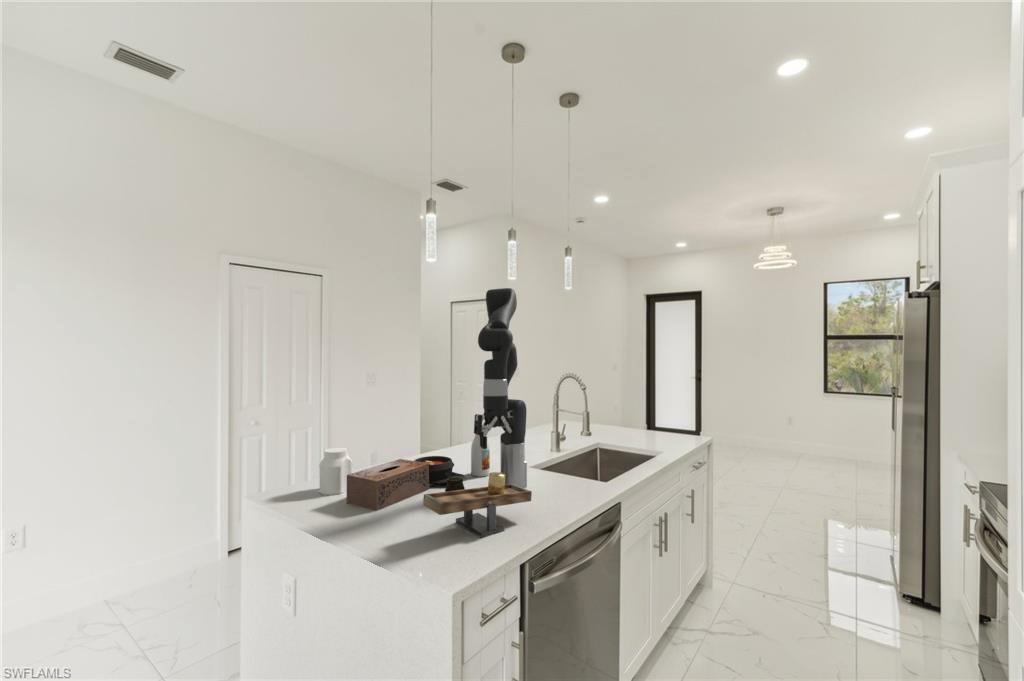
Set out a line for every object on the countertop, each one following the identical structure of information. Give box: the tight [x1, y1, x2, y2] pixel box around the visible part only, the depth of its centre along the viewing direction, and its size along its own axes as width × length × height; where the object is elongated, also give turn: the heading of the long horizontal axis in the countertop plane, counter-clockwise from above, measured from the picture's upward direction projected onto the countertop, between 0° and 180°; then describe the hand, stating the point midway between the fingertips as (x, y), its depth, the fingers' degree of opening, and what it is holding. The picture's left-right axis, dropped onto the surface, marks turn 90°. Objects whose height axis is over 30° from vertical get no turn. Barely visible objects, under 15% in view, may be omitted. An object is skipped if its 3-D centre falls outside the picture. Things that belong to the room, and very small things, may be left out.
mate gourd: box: [444, 472, 466, 492], centre depth 161 cm, size 7×8×10 cm
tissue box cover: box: [346, 458, 430, 512], centre depth 166 cm, size 26×14×10 cm, turn 150°
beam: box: [422, 484, 533, 516], centre depth 138 cm, size 32×10×3 cm, turn 128°
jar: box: [318, 447, 353, 496], centre depth 173 cm, size 12×10×15 cm
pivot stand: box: [455, 504, 505, 538], centre depth 138 cm, size 8×14×8 cm, turn 38°
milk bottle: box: [470, 434, 491, 478], centre depth 194 cm, size 8×8×20 cm
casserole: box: [413, 455, 465, 486], centre depth 185 cm, size 25×19×8 cm
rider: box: [487, 471, 505, 496], centre depth 142 cm, size 5×5×6 cm
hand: (495, 446), depth 142 cm, fingers open, 8 cm apart
